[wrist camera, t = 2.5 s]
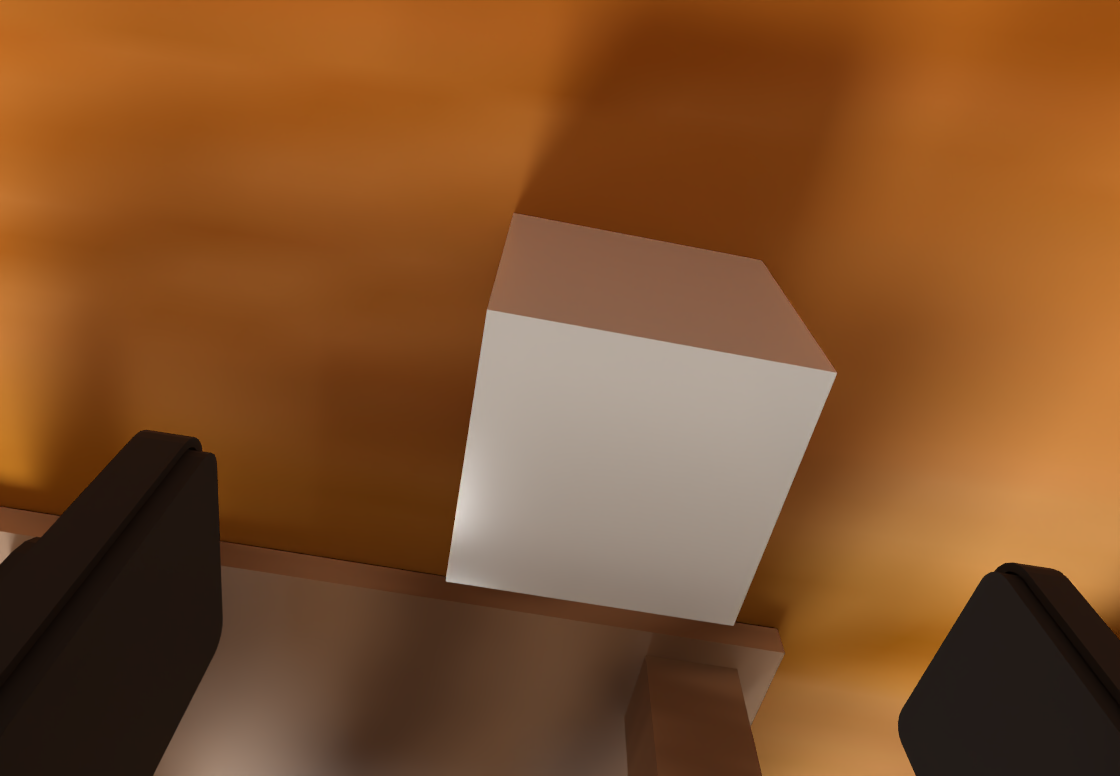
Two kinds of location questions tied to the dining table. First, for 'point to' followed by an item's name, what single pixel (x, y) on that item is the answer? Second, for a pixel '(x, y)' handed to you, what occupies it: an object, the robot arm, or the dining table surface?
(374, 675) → the frame
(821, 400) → the light grey cube
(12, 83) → the dining table surface
